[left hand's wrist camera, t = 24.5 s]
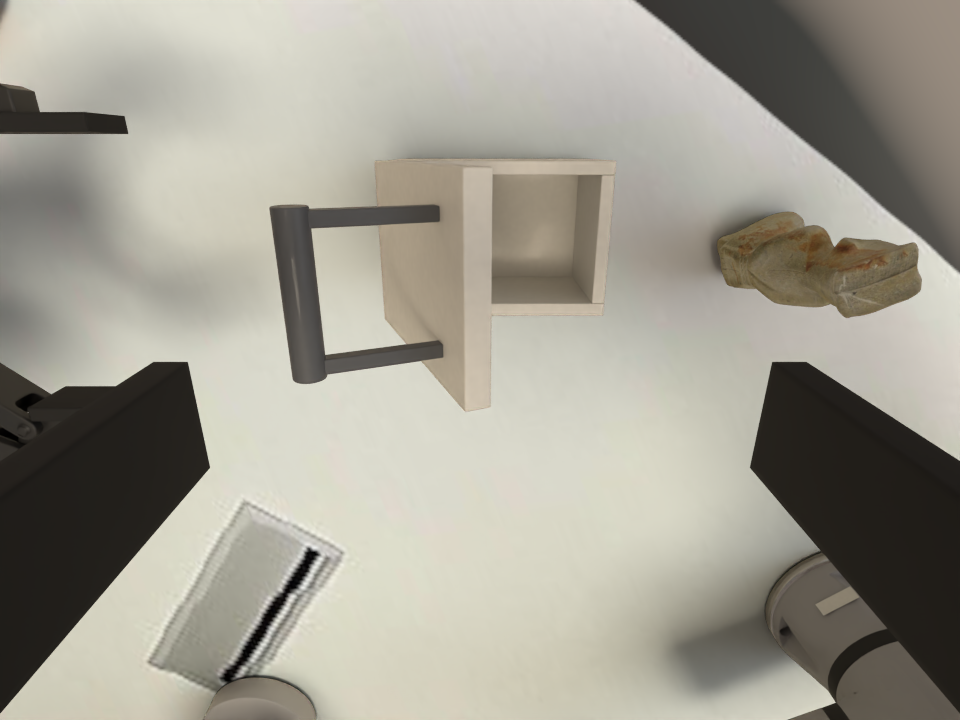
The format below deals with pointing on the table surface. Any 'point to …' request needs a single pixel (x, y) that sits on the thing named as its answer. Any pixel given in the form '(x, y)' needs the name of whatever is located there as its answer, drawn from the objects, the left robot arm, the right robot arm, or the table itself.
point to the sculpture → (818, 266)
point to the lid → (404, 276)
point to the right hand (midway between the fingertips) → (143, 276)
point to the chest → (548, 234)
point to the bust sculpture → (260, 702)
